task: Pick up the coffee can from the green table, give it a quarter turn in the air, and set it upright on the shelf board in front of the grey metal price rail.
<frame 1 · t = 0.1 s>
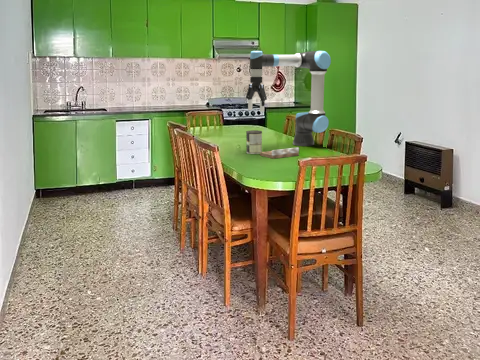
hand: (256, 110, 319), 28 cm above the table, fingers open, 13 cm apart
shelf board: (279, 155, 319), on the table
coffee can: (254, 153, 329), on the table
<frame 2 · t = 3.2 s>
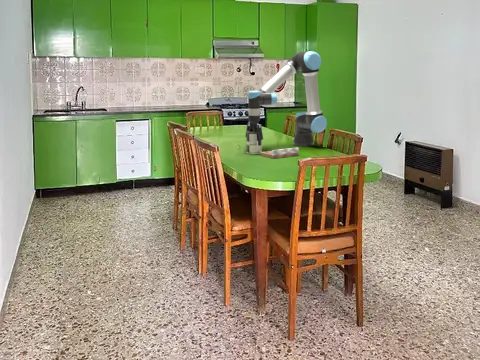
hand: (254, 149, 328), 2 cm above the table, fingers closed on coffee can, 10 cm apart
coffee can: (254, 153, 329), on the table, touching gripper
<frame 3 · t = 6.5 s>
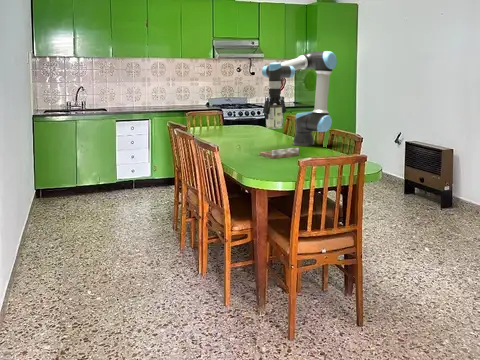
hand: (274, 124, 317), 20 cm above the table, fingers closed on coffee can, 10 cm apart
coffee can: (274, 127, 317), point 17 cm above the table, touching gripper
when the fingers open (6 cm above the table, at t = 9.6 s): coffee can drops 1 cm, resting on shelf board.
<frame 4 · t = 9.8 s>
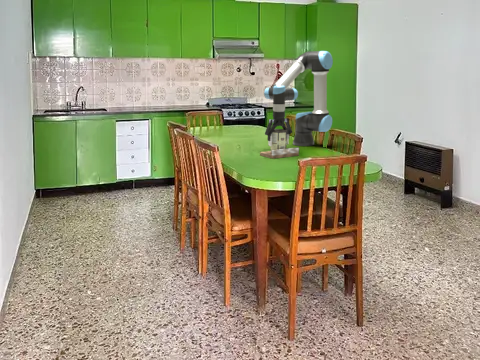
hand: (278, 145, 318), 6 cm above the table, fingers open, 12 cm apart
coffee can: (278, 152, 319), point 2 cm above the table, touching shelf board
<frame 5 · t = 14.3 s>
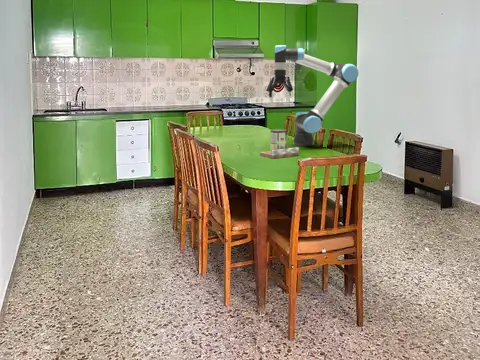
hand: (279, 101, 337), 32 cm above the table, fingers open, 13 cm apart
nothing on the table moved.
at the end: coffee can inside the target area on the shelf board (0.6 cm from its centre), point 1.8 cm above the shelf board's base; coffee can tilted 0°; coffee can touching shelf board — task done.
